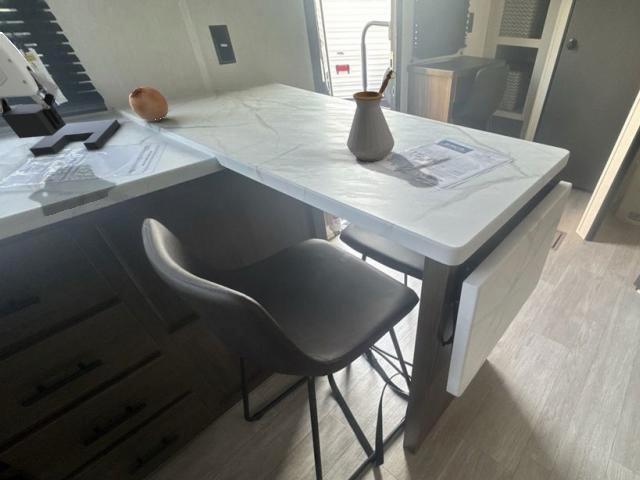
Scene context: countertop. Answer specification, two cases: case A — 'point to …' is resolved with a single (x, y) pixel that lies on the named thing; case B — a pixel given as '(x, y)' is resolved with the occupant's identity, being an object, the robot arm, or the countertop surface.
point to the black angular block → (29, 121)
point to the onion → (148, 103)
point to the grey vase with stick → (370, 126)
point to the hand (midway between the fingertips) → (41, 128)
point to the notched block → (77, 136)
